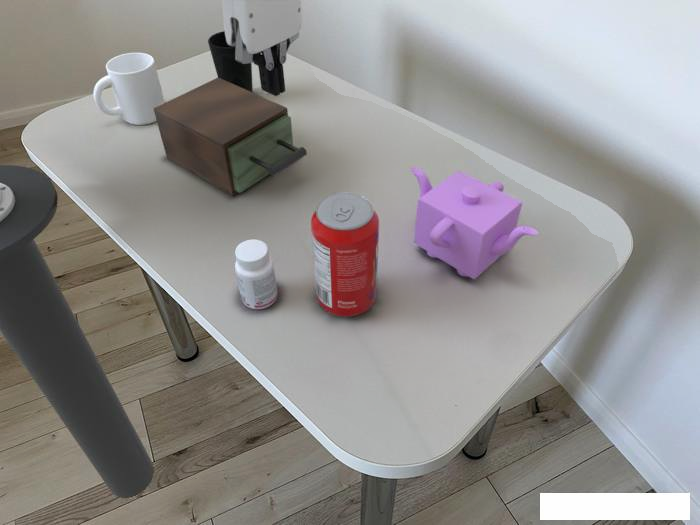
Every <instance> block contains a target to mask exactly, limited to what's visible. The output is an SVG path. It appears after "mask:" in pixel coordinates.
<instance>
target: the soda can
mask: <svg viewBox="0 0 700 525" xmlns="http://www.w3.org/2000/svg"><path fill="white" fill-rule="evenodd" d="M310 226H311V227H310V228H311V229H310V230H311V231H310V232H311V242H312V243H311V244H312V256H313V257H312V258H313V270H314V284H315V296H316V300H317V302H318V304H319V305H320V307H321V308H322V309H323V310H325V311H326V312H327V313H329V314H331V315H334V316H338V317H355V316H357V315H361V314H363V313H365V312H366V311H368V310H369V309H370V308H371V307H372V306H373V305H374V303H375V301H376V298H377V293H378V292H377V291H378V267H379V266H378V264H379V261H378V260H379V238H380V219H379V215H378V213H377V212H376V211H375V209H374V206H373V204H372V202H371V201H370V200H369V199H368V198H367V197H366V196H363V195H362V194H359V193H354V192H349V191H343V192H336V193H332V194H330V195H327V196H325V197H324V198H322V199H321V200H320V201H319V202H318V204H317V206H316V209H315V211H314V212H313V214H312V216H311V220H310Z"/></svg>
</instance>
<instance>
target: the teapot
mask: <svg viewBox="0 0 700 525" xmlns="http://www.w3.org/2000/svg"><path fill="white" fill-rule="evenodd" d="M410 171H411V173H412V174H413V175H414V176H415V177H416V179H417V181H418V185H419V193H420V194H419V198H418V199H417V205H416V216H415V219H416V220H415V225H414V226H415V228H414V238H413V243H414V244H415V245H416V246H418V247H420V248H421V249H423V250H425V251H426V254H427V256H429V257H431V258H437V259H439V260H441V261H443V262H444V263H446V264H448V265H449V266H450V267H452V268H454V269H456V272H457V274H458V275H460V276H461V277H469V278H470V279H472V280H476V278H478V277H479V276H480V275H481V274H482V273H483V272H485V271H486V270H487V269H488V268H489V267H490V266H492V264H493V263H495V262H496V261H497V260H498V259H500V257H501V256H503V255H504V254H507V253H508V252H510V251H511V250H512V249H513V248H514V247H515V245H516V244H517V243H518V241H520V240H521V238H522V237H525V236H538V235H539V232H538V231H537V230H536V229H535V228H533V227H531V226H528V225H519V226H517V225H518V221H519V218H520V214H521V210H522V206H523V202H522V201H520V200H519V199H516V198H514V197H513V196H511V195H510V194H507V193H505V192H504V188H505V187H504V184H503V183H502V182H500V181H494V182H491V183H489V184H487V183H485V182H483V181H481V180H479V179H477V178H475V177H473V176H471V175H469V174H467V173H465V172H463V171H461V170H457V171H456V172H454V173H452V175H450V176H449V177H447V178H445V179H444V180H443V181H441V182H440V183H439V184H437V185H436V186H434V187H433V186H432V184H431V182H430V181H431V180H430V179H429V177H428V176H427V174H426V173H425V172H424V171H423V170H422V169H420V168H418V167H413V166H412V167H410Z"/></svg>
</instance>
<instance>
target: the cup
mask: <svg viewBox="0 0 700 525" xmlns="http://www.w3.org/2000/svg"><path fill="white" fill-rule="evenodd" d="M207 43H208V47H209V51H210V54H211V58H212V61H213V65H214V69H215V72H216V75H217V78H221V79H223V80H225V81H227V82H230V83H232V84H234V85H236V86H239V87H241V88H243V89H245V90H248V91H250V92H252V93H254V92H253V66H252V65H253V63H248V64H242V63H240V62H237V61H236V60H235V49H236V46H230V45H228V44H227V41H226V37H225V30H223V31H220V32H216V33H214V34H212V35H210V36H209V37H208V39H207Z"/></svg>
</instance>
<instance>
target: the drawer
mask: <svg viewBox="0 0 700 525" xmlns="http://www.w3.org/2000/svg"><path fill="white" fill-rule="evenodd" d="M292 127H293V126H292V118H291V116H289V115H288V116H287V115H284V116H282V117H280V118H279V119H275V120H273V121H272V122H270V123H268V124H266V125H265V126H263V127H261V128H259V129H258V130H256V131H254V132H253V133H251V134H249V135H247V136H246V137H244V138H242V139H240V140H239V141H237V142H235V143H233V144H232V145H230V146H228V148H227V150H228V156H229V161H230V167H231V172H232V178H233V183H234V188H235V191H237V192H239V193H238V194H241V193H243V192H245V190H247V189H249V188H250V187H252V186H253V185H255V184H256V183H257V182H260V181H261V180H263V179H264V178H265V177H267V176H269V175H270V176H272V177H275V176H277V175H279V173H281V172H283V171H284V170H286V169H287V168H289V167H290V166H292V165H293V164H295V163H297V162H298V161H300V160H301V159H303V158H304V157H306V156H307V154H308V152H307V149H306V148H305V147H303V146H299V147H296V146H294V140H293V128H292Z"/></svg>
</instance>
